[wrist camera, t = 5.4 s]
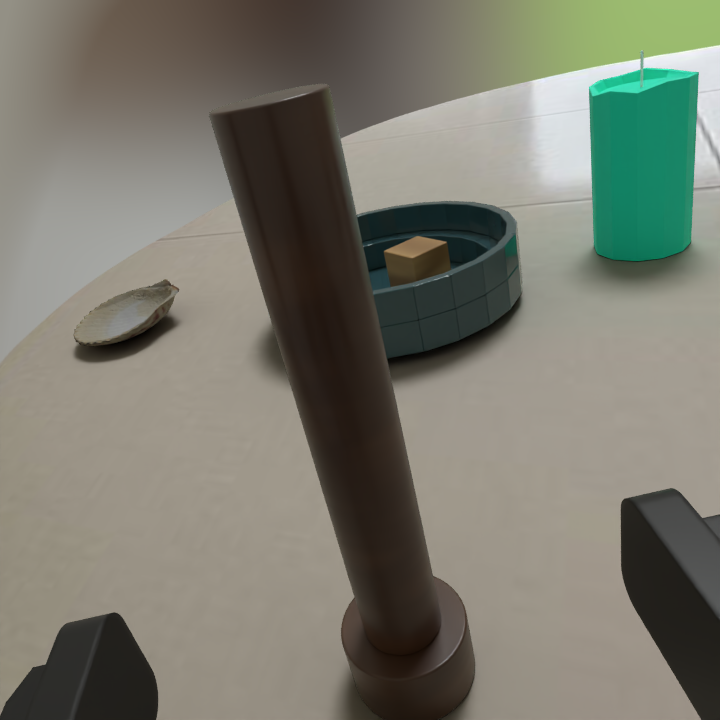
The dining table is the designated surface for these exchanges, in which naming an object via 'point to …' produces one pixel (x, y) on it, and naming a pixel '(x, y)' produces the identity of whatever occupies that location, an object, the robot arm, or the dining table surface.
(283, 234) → the muddler
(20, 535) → the dining table surface
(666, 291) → the dining table surface
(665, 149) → the candle
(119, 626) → the robot arm
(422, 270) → the block
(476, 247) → the bowl
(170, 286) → the seashell
